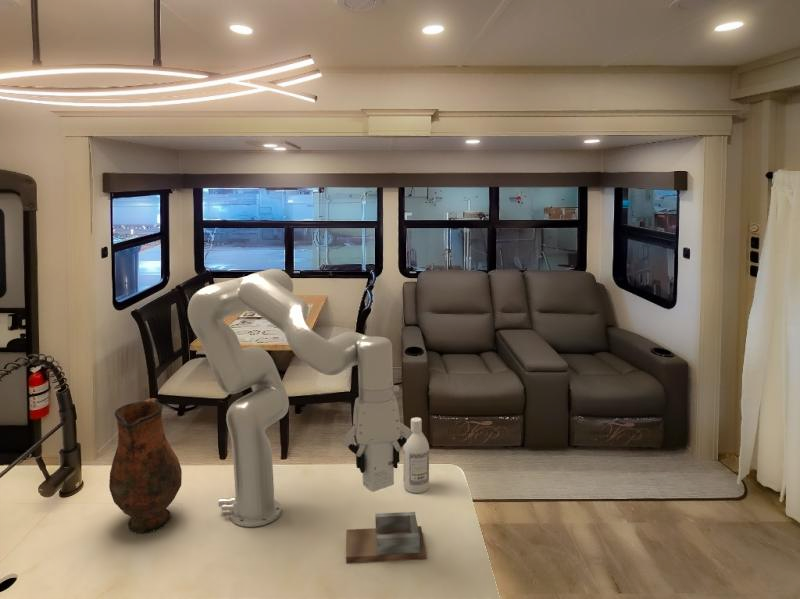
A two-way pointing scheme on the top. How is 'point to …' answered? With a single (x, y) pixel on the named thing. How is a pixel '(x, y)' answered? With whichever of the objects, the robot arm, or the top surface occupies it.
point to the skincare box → (378, 465)
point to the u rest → (387, 540)
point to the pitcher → (144, 467)
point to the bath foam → (416, 459)
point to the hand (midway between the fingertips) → (378, 467)
